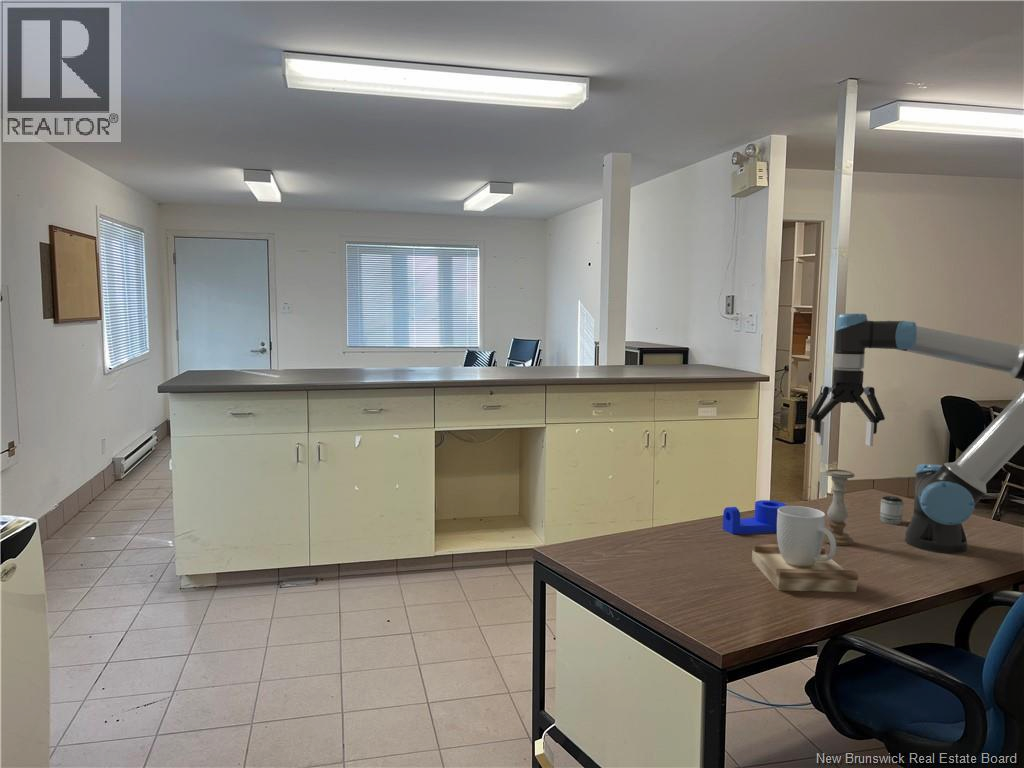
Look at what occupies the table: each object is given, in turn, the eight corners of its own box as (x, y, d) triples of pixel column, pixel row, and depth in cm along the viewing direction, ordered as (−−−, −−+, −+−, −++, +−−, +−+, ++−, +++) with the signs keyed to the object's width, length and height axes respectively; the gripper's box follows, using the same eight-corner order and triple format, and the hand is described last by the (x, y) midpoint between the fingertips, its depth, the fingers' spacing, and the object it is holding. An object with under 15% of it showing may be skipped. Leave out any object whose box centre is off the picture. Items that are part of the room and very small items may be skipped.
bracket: (772, 523, 218) (773, 499, 217) (792, 531, 209) (793, 506, 208) (718, 528, 212) (719, 503, 211) (736, 536, 203) (737, 511, 203)
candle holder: (855, 547, 194) (859, 476, 192) (820, 543, 197) (824, 473, 195) (850, 538, 203) (854, 470, 201) (818, 534, 205) (821, 467, 204)
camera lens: (875, 519, 223) (876, 495, 222) (893, 518, 223) (895, 495, 222) (887, 525, 216) (889, 500, 216) (906, 524, 217) (908, 500, 216)
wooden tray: (820, 561, 182) (821, 545, 182) (857, 592, 162) (858, 574, 161) (751, 560, 183) (752, 543, 182) (779, 590, 162) (779, 572, 162)
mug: (846, 570, 168) (849, 517, 167) (819, 578, 162) (822, 524, 161) (792, 552, 180) (795, 503, 179) (765, 560, 174) (768, 509, 173)
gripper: (887, 368, 195) (882, 443, 197) (797, 367, 196) (794, 441, 198) (901, 370, 188) (896, 448, 190) (808, 369, 188) (804, 446, 190)
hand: (844, 445), depth 194 cm, fingers open, 13 cm apart
